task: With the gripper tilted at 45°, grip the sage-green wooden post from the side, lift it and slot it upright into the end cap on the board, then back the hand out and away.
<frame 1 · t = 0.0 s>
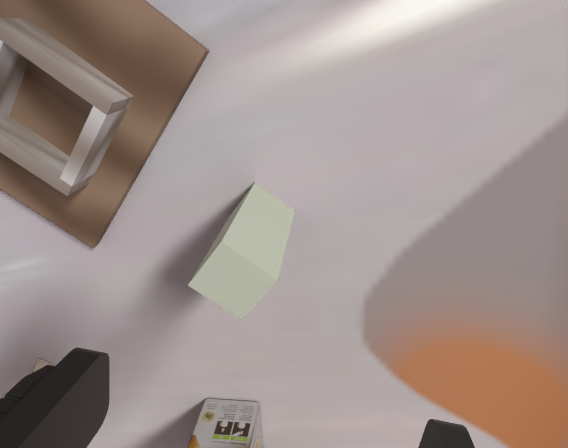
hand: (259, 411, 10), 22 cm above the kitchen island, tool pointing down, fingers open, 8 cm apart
post: (261, 213, 32), on the kitchen island
coffee box: (236, 425, 45), on the kitchen island
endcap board: (69, 105, 30), on the kitchen island
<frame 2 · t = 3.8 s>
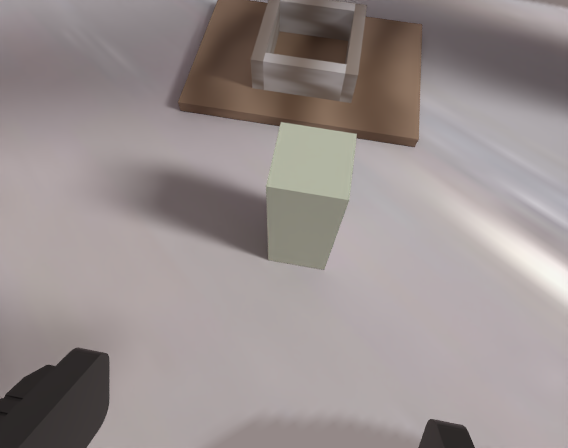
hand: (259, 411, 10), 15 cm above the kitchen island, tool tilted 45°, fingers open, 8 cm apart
post: (300, 239, 28), on the kitchen island
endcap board: (307, 69, 36), on the kitchen island
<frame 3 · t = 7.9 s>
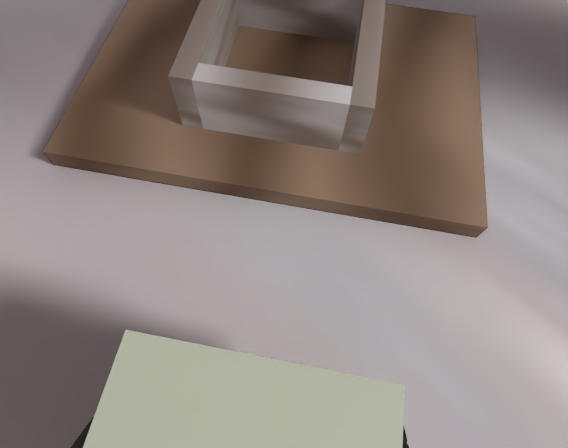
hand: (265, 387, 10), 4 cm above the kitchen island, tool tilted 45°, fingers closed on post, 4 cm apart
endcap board: (285, 90, 21), on the kitchen island
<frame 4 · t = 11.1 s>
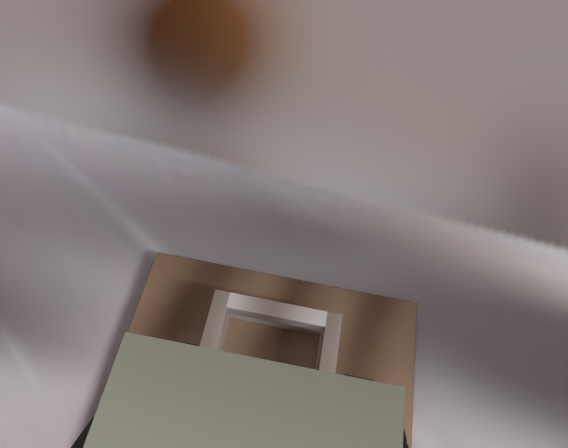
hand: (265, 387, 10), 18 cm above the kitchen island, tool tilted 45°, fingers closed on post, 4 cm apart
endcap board: (265, 375, 27), on the kitchen island
when the fingers open (7 cm above the kitchen island, at t = 14.6 s): post drops 1 cm, resting on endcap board.
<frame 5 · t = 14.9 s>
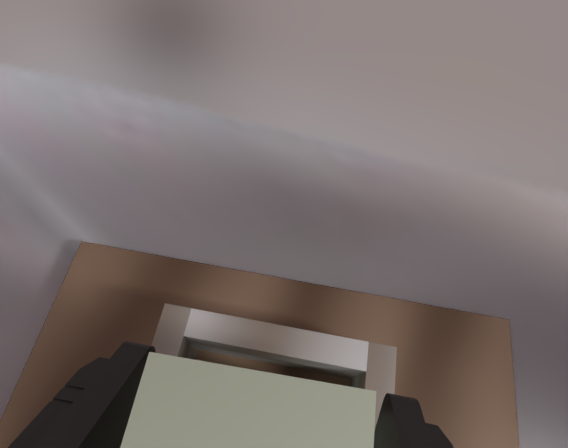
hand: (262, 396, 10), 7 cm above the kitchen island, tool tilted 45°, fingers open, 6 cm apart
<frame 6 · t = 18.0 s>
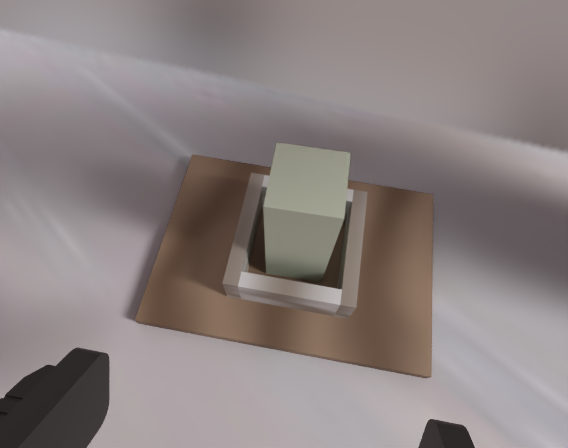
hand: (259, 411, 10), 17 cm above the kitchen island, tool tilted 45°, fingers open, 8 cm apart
post: (297, 252, 29), point 1 cm above the kitchen island, touching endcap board
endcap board: (296, 256, 30), on the kitchen island
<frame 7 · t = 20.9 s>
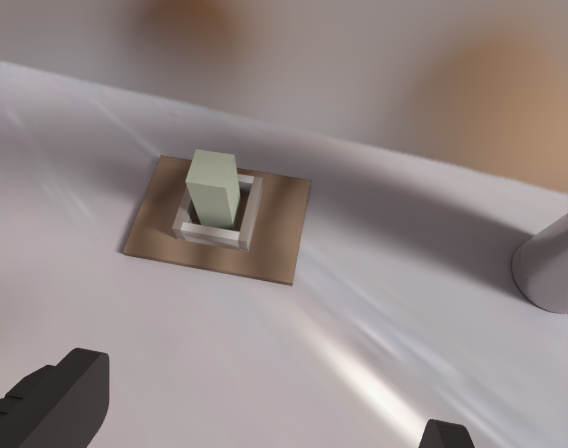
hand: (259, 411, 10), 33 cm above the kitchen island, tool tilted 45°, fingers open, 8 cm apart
post: (221, 214, 48), point 1 cm above the kitchen island, touching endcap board
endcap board: (222, 218, 49), on the kitchen island
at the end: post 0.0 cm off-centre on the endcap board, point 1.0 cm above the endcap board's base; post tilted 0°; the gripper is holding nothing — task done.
